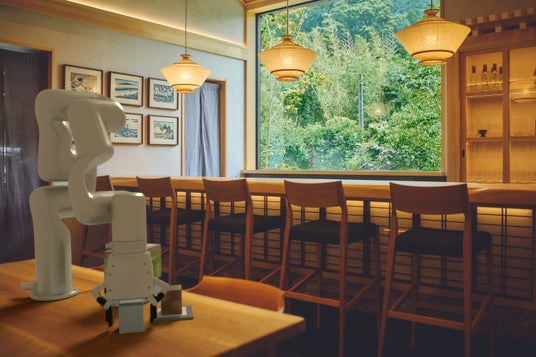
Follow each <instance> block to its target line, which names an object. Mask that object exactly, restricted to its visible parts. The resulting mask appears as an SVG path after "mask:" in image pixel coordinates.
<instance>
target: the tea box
mask: <svg viewBox="0 0 536 357" xmlns="http://www.w3.org/2000/svg"><path fill="white" fill-rule="evenodd" d="M147 251H149V252H150V254H151V259H152V265H153V276H154V277H156V278H158V279H160V280H162V244H161V243H147ZM110 254H112V251H111V250H109V249H107V250H105V251H103V282H104V281H106V280H107V263H108V257H109V255H110ZM160 291H161V287H159V286H157V285H155V284H154V292H153V294H154V295H155V296H157V294H158V293H159V292H160ZM103 297H104V298H105V299H106V300H107V299H108V298H107V292H106V288H104V289H103ZM132 300H137V299H132ZM120 301H123V300H116V301H113V303H112V307H113V308H119V304H120ZM147 302H149V300H148V299H147V298H144V299H143V304H145V303H147Z"/></svg>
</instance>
